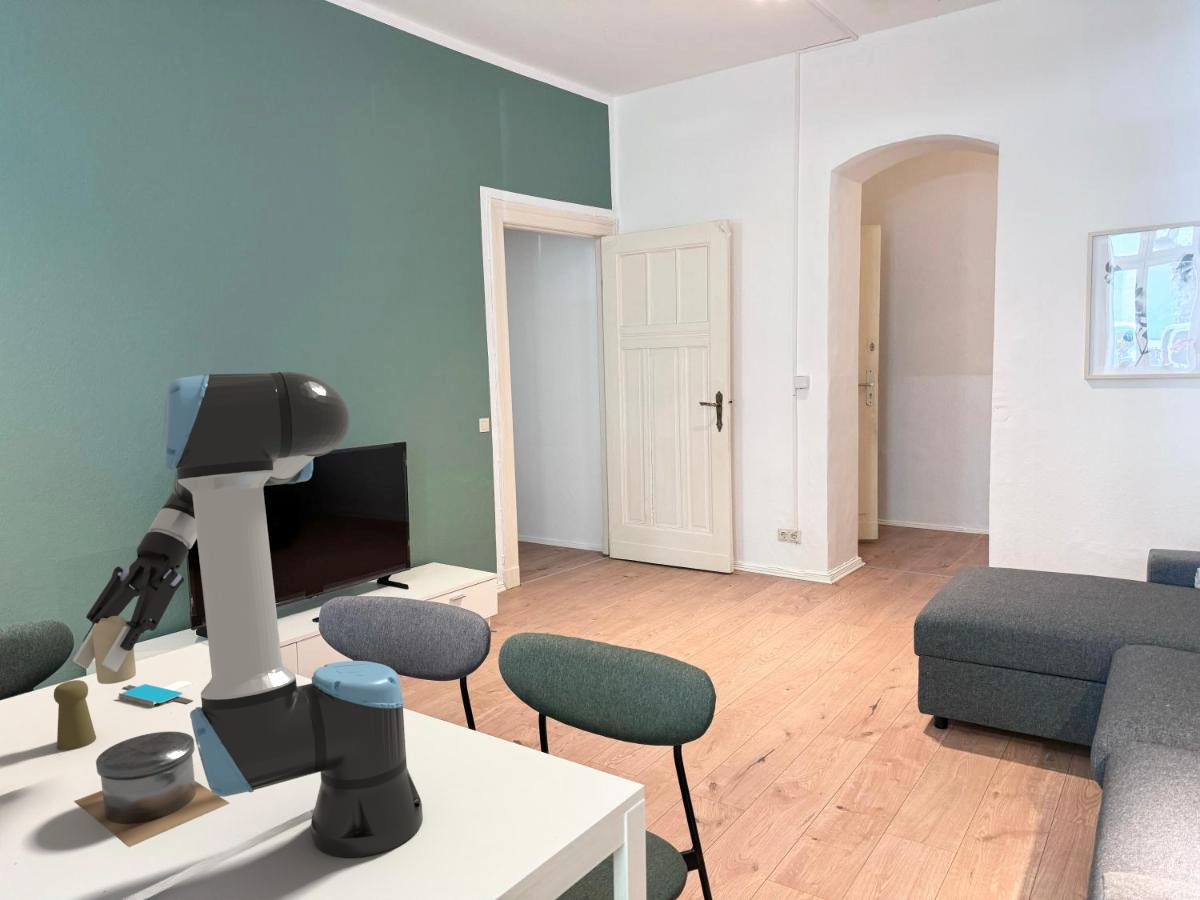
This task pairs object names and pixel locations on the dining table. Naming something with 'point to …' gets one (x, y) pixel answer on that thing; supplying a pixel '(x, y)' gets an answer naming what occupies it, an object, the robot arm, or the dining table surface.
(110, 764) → the round metal tin
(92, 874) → the dining table surface
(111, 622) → the candle
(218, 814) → the dining table surface
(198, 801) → the wooden board
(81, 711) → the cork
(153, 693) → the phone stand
